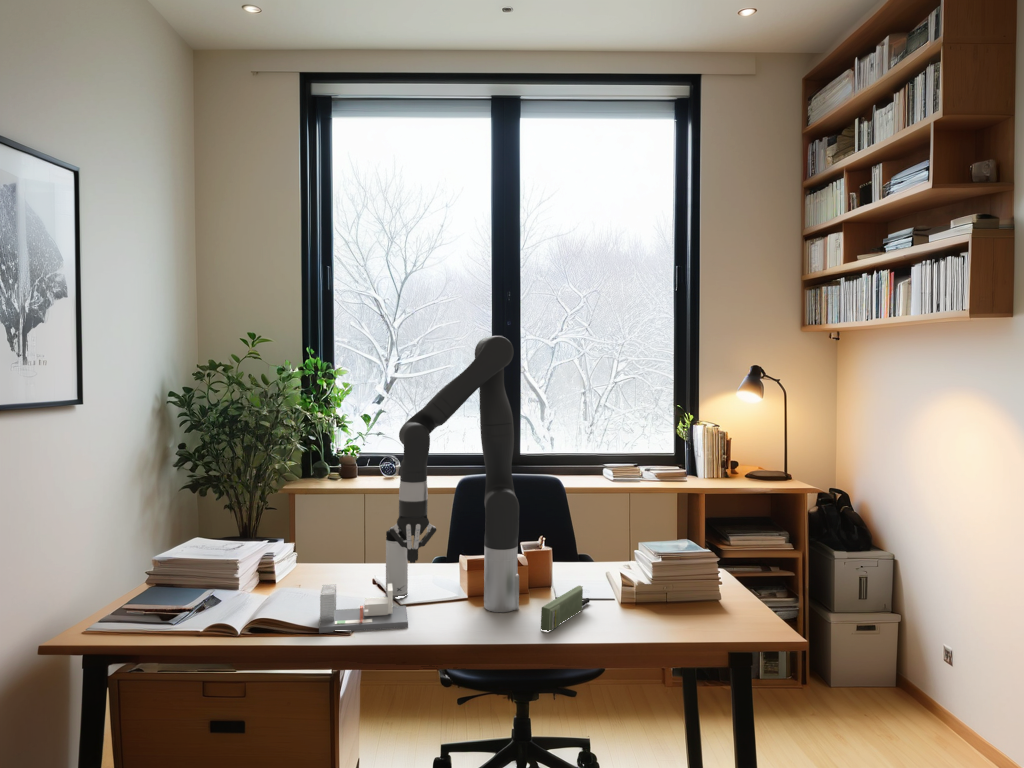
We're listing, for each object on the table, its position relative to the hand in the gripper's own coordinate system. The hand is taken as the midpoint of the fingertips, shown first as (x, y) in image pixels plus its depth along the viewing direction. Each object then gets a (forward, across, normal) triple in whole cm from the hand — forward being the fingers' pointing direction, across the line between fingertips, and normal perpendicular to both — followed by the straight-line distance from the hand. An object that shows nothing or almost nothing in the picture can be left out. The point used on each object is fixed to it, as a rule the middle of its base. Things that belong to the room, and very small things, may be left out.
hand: (412, 562), depth 186 cm
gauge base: (+15, +12, +2) cm, 19 cm away
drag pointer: (+13, +13, +5) cm, 19 cm away
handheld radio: (+15, -41, +7) cm, 44 cm away
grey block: (+13, +22, 0) cm, 25 cm away
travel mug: (+15, +3, -17) cm, 23 cm away
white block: (+13, +9, +1) cm, 16 cm away
